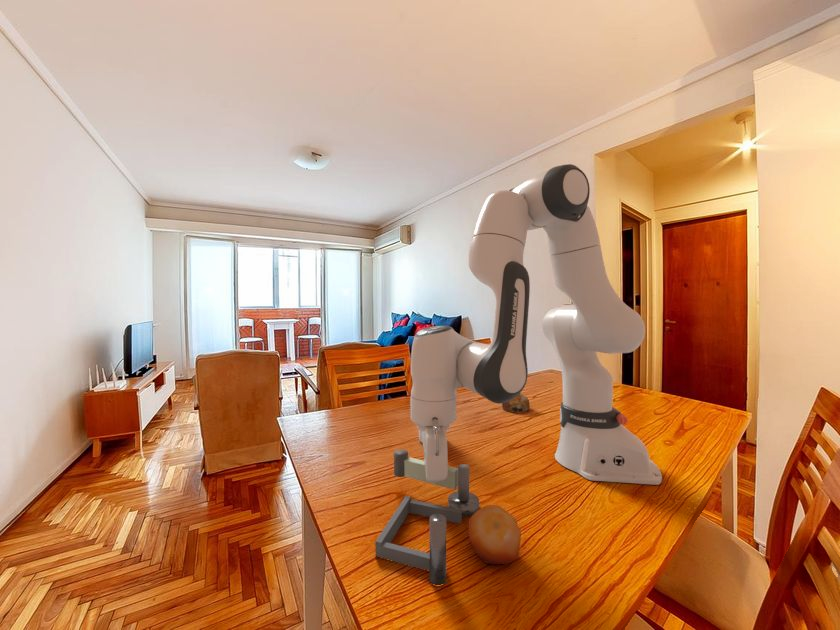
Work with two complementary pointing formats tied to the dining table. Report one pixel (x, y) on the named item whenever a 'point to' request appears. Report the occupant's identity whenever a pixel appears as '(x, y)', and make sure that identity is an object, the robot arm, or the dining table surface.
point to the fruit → (495, 534)
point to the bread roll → (517, 404)
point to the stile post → (437, 549)
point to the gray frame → (392, 527)
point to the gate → (416, 470)
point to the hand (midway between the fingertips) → (433, 479)
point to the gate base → (464, 504)
